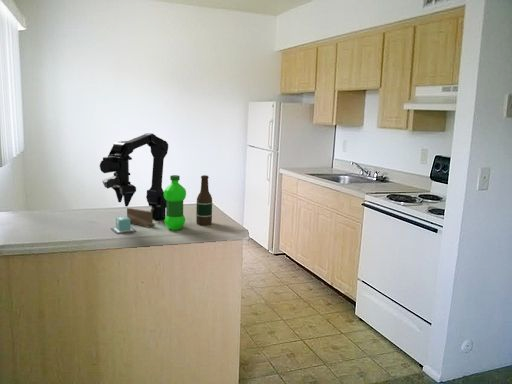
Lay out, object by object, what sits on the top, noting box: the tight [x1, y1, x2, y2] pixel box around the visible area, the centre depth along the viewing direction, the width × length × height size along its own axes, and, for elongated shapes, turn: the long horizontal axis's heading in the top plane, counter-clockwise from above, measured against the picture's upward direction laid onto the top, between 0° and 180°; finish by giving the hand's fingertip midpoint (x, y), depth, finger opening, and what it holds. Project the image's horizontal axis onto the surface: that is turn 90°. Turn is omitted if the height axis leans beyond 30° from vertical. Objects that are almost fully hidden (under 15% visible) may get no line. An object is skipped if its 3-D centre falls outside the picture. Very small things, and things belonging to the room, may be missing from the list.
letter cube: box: [115, 216, 132, 231], centre depth 202 cm, size 5×5×5 cm
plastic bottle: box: [163, 174, 187, 231], centre depth 207 cm, size 10×10×25 cm
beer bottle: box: [195, 174, 213, 227], centre depth 217 cm, size 8×8×24 cm
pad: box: [110, 226, 137, 235], centre depth 203 cm, size 9×9×1 cm
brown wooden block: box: [126, 207, 156, 229], centre depth 213 cm, size 5×14×7 cm, turn 64°
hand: (123, 204), depth 202 cm, fingers open, 9 cm apart
